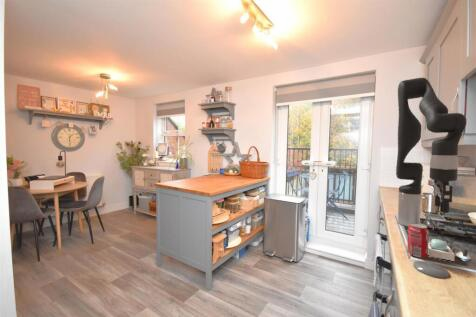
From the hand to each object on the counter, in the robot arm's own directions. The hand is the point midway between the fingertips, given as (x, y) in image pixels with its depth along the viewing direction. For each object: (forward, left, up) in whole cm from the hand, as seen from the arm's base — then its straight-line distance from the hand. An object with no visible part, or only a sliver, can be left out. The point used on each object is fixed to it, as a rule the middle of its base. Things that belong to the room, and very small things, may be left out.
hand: (441, 209), depth 81 cm
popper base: (0, 0, -18) cm, 18 cm away
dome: (0, 0, -17) cm, 17 cm away
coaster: (+14, -5, -18) cm, 24 cm away
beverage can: (+4, -7, -19) cm, 20 cm away
